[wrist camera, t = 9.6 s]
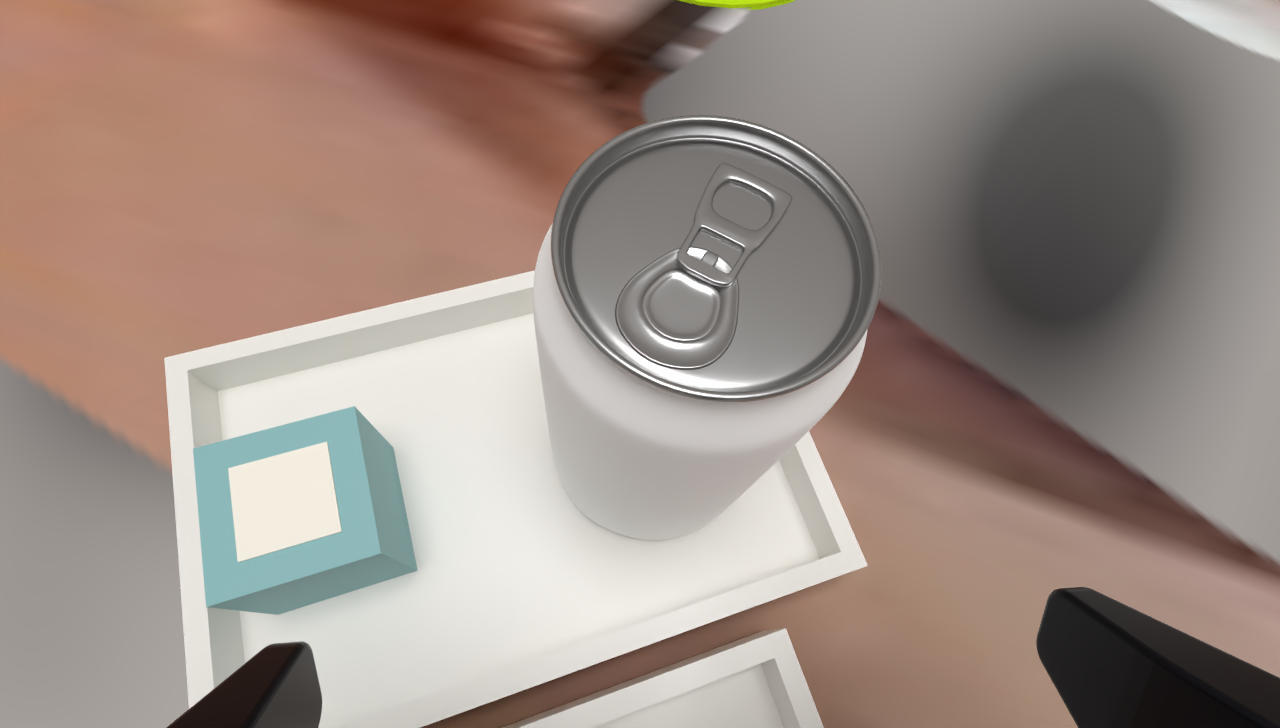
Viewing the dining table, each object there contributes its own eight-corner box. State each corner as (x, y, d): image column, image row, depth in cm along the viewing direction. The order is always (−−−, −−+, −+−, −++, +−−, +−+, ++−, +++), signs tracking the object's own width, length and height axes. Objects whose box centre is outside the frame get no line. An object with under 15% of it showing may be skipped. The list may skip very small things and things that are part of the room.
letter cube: (417, 570, 20) (380, 553, 16) (275, 615, 19) (201, 608, 15) (393, 445, 21) (353, 402, 18) (259, 482, 21) (188, 445, 17)
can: (513, 480, 21) (442, 301, 10) (612, 324, 24) (641, 46, 13) (692, 582, 20) (823, 507, 9) (775, 410, 23) (955, 192, 12)
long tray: (839, 573, 21) (867, 565, 19) (241, 789, 18) (196, 808, 16) (707, 261, 26) (719, 226, 24) (204, 385, 22) (164, 358, 20)
